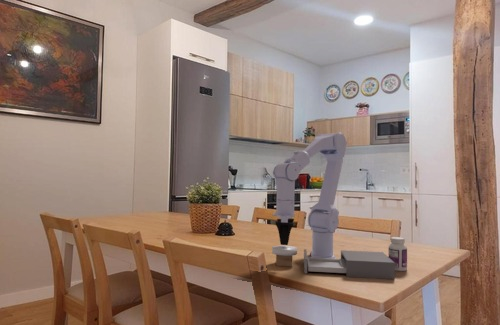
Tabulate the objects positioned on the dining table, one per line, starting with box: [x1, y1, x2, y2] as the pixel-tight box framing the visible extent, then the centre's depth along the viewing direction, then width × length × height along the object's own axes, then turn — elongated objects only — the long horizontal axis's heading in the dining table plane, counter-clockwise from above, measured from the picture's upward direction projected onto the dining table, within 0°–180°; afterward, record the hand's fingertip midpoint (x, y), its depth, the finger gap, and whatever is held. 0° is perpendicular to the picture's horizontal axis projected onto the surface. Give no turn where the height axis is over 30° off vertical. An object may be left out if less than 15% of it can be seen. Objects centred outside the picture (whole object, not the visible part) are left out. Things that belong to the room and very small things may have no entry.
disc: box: [271, 245, 298, 257], centre depth 117 cm, size 8×8×2 cm
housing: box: [340, 249, 396, 280], centre depth 110 cm, size 14×13×5 cm
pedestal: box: [275, 255, 293, 267], centre depth 117 cm, size 5×5×4 cm
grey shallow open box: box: [303, 248, 347, 275], centre depth 112 cm, size 14×13×4 cm
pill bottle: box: [388, 236, 408, 272], centre depth 114 cm, size 5×5×10 cm
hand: (284, 242), depth 117 cm, fingers open, 7 cm apart
